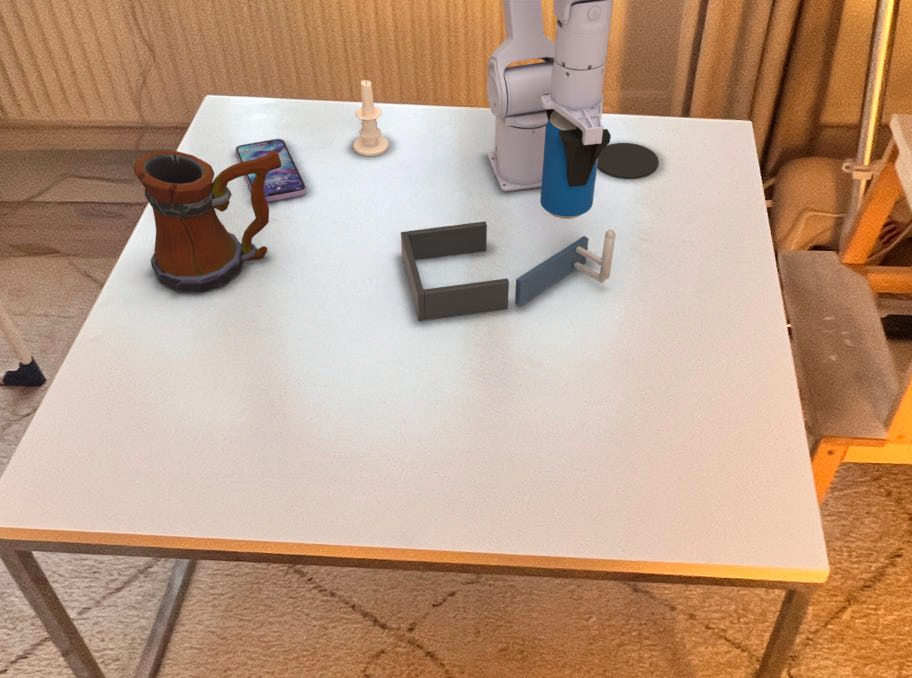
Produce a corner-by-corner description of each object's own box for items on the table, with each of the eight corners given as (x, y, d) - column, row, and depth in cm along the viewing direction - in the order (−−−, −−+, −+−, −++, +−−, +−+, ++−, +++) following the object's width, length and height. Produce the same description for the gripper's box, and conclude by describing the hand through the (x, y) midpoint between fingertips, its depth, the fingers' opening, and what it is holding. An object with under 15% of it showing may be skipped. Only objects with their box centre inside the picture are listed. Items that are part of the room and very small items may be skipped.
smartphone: (283, 137, 137) (308, 189, 127) (283, 143, 137) (308, 195, 128) (233, 145, 135) (255, 199, 126) (234, 151, 136) (256, 205, 126)
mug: (291, 228, 123) (274, 122, 112) (300, 280, 115) (283, 173, 104) (153, 247, 121) (122, 141, 110) (154, 301, 113) (120, 194, 102)
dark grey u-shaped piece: (485, 247, 119) (485, 220, 116) (507, 309, 110) (509, 282, 108) (402, 258, 118) (400, 231, 115) (418, 321, 109) (417, 294, 106)
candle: (395, 143, 137) (391, 75, 129) (376, 159, 134) (370, 91, 126) (366, 134, 139) (360, 66, 131) (346, 150, 136) (339, 82, 128)
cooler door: (618, 280, 113) (626, 225, 107) (551, 326, 108) (556, 270, 102) (581, 260, 116) (587, 205, 110) (514, 303, 111) (517, 248, 105)
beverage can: (589, 224, 113) (600, 134, 104) (536, 219, 114) (543, 129, 105) (594, 195, 117) (605, 106, 108) (543, 190, 118) (550, 101, 109)
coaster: (586, 149, 134) (586, 146, 134) (645, 142, 135) (646, 139, 135) (605, 182, 128) (605, 180, 128) (667, 174, 129) (667, 172, 129)
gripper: (528, 33, 106) (523, 141, 116) (561, 93, 97) (552, 205, 107) (588, 27, 107) (577, 135, 117) (627, 86, 97) (611, 198, 107)
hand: (569, 168), depth 112 cm, fingers closed on beverage can, 6 cm apart
